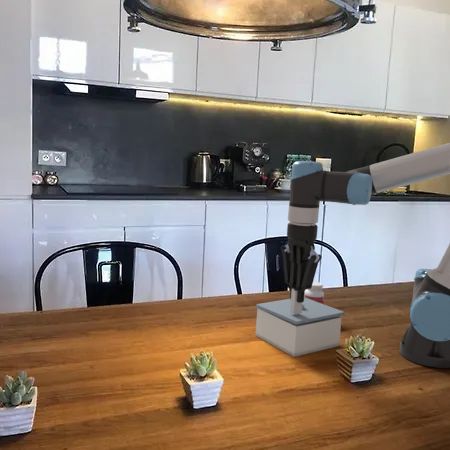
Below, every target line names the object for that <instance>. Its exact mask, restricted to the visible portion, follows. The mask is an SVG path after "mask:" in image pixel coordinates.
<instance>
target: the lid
mask: <svg viewBox="0 0 450 450" xmlns="http://www.w3.org/2000/svg"><path fill="white" fill-rule="evenodd" d="M290 305H291V299H290V298H287V299H281V300H274V301H268V302H263V303H256V304H255V308H259V309H261V310H264V311H266V312H268V313H271V314H273V315H275V316H278V317H280V318H282V319H284V320H287V321H289V322H291V323H294V324H296V325H298V324H303V323H308V322H312V321H317V320H322V319H327V318H332V317H337V316H339V317H342V316H345V314H346V312H345V311H343V310H341V309H337V308H335V307H331V306H329V305H326V304H321V303H318V302H316V301H313V300H310V299H308V298H305V297H304V302H302V313H301V314H296V315H293V314H291V313H290Z"/></svg>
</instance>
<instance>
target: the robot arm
mask: <svg viewBox="0 0 450 450" xmlns="http://www.w3.org/2000/svg"><path fill="white" fill-rule="evenodd" d="M323 166H324V165H323V163H322V162H320V161H319V162H318V161H309V160H298V161H295V162H293V164H292V169H291V178H290V179H289V180H290V187H289V188H290V189H289V202H288V203H289V205H288V213H287V220H288V223H287V228H286V237H287V238H288V240H287V244H284V245H281V246H280V250H281V253H282V262H283V272H284V273H283V274H284V283H285V284H286V285H289V288H290V292H289V299H291V305H290V313H291V314H293V315H296V314H301V313H302V302H304V295H305V290H306V289H311V288H312V284H313V282H314V280H315V276H316V273H317V270H318V269H317V268H318V266H319V263H320V261H321V260H322V255H321V254H318V253H317V252H316V250H315V249H316V247H315V241H316V240H317V237H318V228H319V226H318V225H317V224H318V223H319V215H320V214H319V213H320V202H324V203H325V202H328V203H336V204H337V203H339V204H347V205H351V206H352V205H353V206H360V205H361V206H362V205H363V206H366V205H368V204H369V203H370V200H371V196H372V195H375V194H379V193H382V192H387V191H389V190H395V189H398V188H402V187H407V186H410V185H413V184H417V183H422V182H424V181H429V180H433V179H437V178H441V177H445V176H448V175H450V142H448V143H445V144H444V143H443V144H440V145H437V146H433V147H429V148H426V149H423V150H419V151H416V152H412V153H409V154H405V155H401V156H398V157H395V158H390V159H387V160H384V161H381V162H376V163H373V164H370V165H366V166H363V167H359V168H355V169H351V170H347V171H346V172H345V171H330V170H325V169H324V168H323ZM413 284H414V285H413V291H412V299H411V304H410V307H409V325H408V326H407V329H406V331H405V332H404V334H403V336H402V338H401V340H400V343H399V349H398V350H399V351H398V352H399V354H400V355H401V356H402V357H403V358H405V359H406V360H407V361H411V362H413V363H414V364H415V363H416V364H418V365H422V366H424V367H425V366H426V367H430V368H437V369H450V243H449V244H448V247H447V248H446V250H445V252H444V254H443V256H442V258H441V259H440V262H439V264H438V266H437V267H436V268H419V269H417V270H416V272H415V276H414V278H413Z"/></svg>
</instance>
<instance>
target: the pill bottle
mask: <svg viewBox="0 0 450 450" xmlns="http://www.w3.org/2000/svg"><path fill="white" fill-rule="evenodd" d="M323 286H324V285H323V283H321V282H319V281H313V284H312V288H311V289H306V290H305V295H304V297H305V298H308V299H310V300H313V301H316V302H318V303H321V304H324V302H325V292H324V290H323V288H324V287H323ZM324 305H325V304H324Z"/></svg>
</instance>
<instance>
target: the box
mask: <svg viewBox="0 0 450 450" xmlns="http://www.w3.org/2000/svg"><path fill="white" fill-rule="evenodd" d="M256 308H257V307H256ZM255 323H256V324H255V337H257V338H259V339H261V340H263V341H264V342H266V343H268V344H269V345H272V346H273V347H275V348H277V349H279V350H280V351H282V352H284V353H285V354H287V355H290V356H291V357H293V358H297V357H300V356H301V357H302V356H305V355H307V354H312V353H316V352H321V351H324V350H328V349H333V348H336V347H339V345H340V339H341V329H342V327H341V326H342V316H337V317H332V318H327V319H322V320H317V321H312V322H308V323H303V324H298V325H296V324H294V323H291V322H289V321H287V320H284V319H282V318H280V317H278V316H275V315H273V314H271V313H268V312H266V311H264V310H261V309H259V308H257V309H256V322H255Z"/></svg>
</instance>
